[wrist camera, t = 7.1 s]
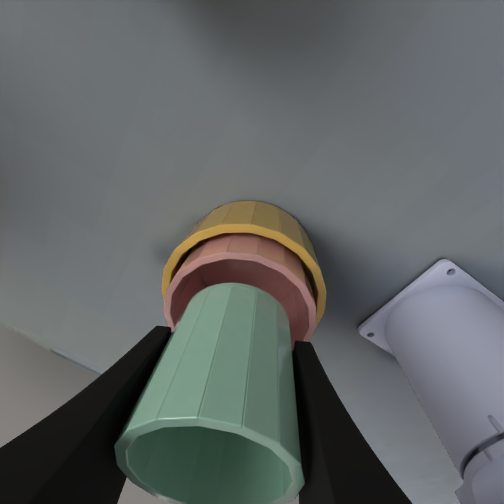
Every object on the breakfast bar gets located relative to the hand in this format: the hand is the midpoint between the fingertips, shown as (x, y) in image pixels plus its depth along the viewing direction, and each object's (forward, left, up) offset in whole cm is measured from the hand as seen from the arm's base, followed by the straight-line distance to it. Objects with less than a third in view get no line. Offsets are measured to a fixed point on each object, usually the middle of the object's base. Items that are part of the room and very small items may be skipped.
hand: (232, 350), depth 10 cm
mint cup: (0, 0, -1) cm, 1 cm away
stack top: (0, 0, -8) cm, 8 cm away
